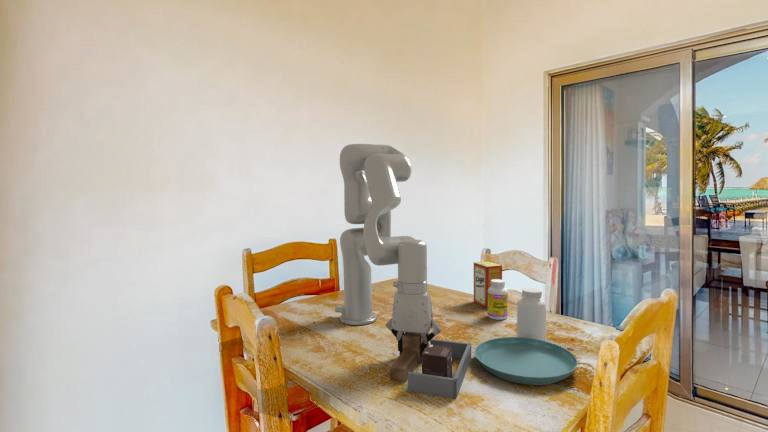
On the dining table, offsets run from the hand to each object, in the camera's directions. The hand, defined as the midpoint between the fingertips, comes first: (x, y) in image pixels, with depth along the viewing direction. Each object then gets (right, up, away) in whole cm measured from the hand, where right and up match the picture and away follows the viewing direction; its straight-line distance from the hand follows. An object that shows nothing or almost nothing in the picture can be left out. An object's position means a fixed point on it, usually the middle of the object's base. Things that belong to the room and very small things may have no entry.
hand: (413, 354), depth 106 cm
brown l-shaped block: (-2, -2, -5) cm, 5 cm away
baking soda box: (+32, +2, +49) cm, 58 cm away
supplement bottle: (+32, +1, +33) cm, 46 cm away
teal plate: (+27, -2, -5) cm, 28 cm away
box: (+5, -2, -12) cm, 13 cm away
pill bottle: (+35, 0, +11) cm, 37 cm away
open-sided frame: (+6, -2, -8) cm, 10 cm away
